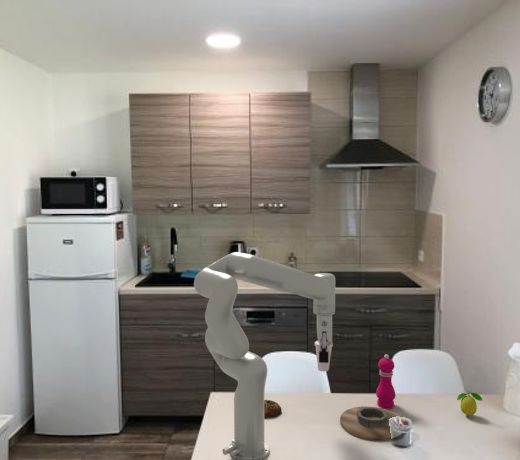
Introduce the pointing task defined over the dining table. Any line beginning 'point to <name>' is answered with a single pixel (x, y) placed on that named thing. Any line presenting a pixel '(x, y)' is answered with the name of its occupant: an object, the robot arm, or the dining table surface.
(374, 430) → the carrier plate
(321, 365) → the smoothie
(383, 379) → the pepper mill
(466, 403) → the lemon
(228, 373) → the robot arm
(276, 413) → the bread roll
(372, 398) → the dining table surface
